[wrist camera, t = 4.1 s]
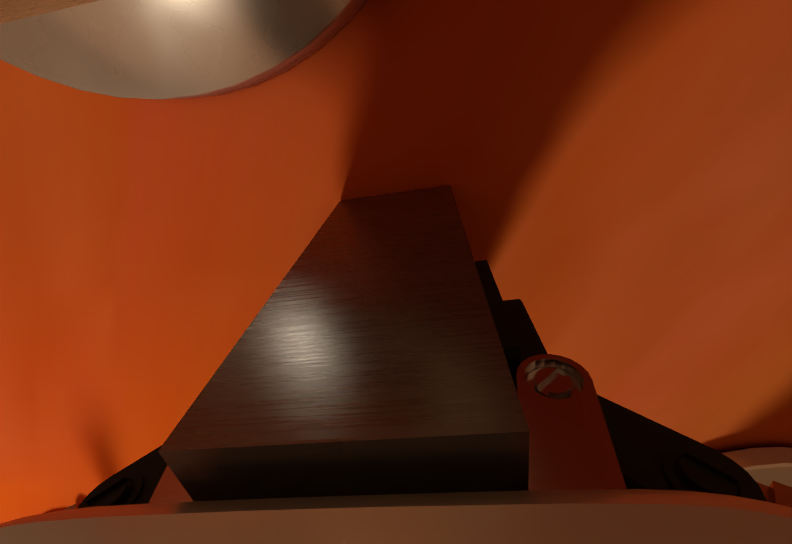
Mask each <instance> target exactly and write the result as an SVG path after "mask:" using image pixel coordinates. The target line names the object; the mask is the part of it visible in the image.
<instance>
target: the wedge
mask: <svg viewBox="0 0 792 544" xmlns="http://www.w3.org/2000/svg"><path fill="white" fill-rule="evenodd" d="M529 432H530V431H529V428H528V425H527V422H526V419H525V416H524V413H523V410H522V407H521V404H520V401H519V397H518V394H517V391H516V388H515V385H514V382H513V379H512V376H511V373H510V370H509V367H508V364H507V360H506V357H505V354H504V351H503V348H502V345H501V342H500V339H499V336H498V333H497V330H496V327H495V324H494V320H493V317H492V314H491V311H490V308H489V305H488V302H487V299H486V296H485V293H484V290H483V287H482V283H481V280H480V277H479V274H478V271H477V268H476V265H475V262H474V259H473V256H472V253H471V250H470V247H469V243H468V240H467V237H466V234H465V231H464V228H463V225H462V222H461V219H460V216H459V213H458V210H457V206H456V203H455V200H454V197H453V194H452V191H451V188H450V185H449V186H442V187H435V188H428V189H421V190H414V191H407V192H400V193H393V194H386V195H379V196H372V197H365V198H358V199H351V200H344V201H340V202H339V203H338V205H337V206H336V207H335V209H334V210H333V211H332V213H331V214H330V216H329V217H328V218H327V220H326V221H325V222H324V224H323V225H322V227H321V228H320V229H319V231H318V232H317V233H316V235H315V236H314V238H313V239H312V240H311V242H310V243H309V244H308V246H307V247H306V249H305V250H304V251H303V253H302V254H301V255H300V257H299V258H298V260H297V261H296V262H295V264H294V265H293V266H292V268H291V269H290V271H289V272H288V273H287V275H286V276H285V277H284V279H283V280H282V282H281V283H280V284H279V286H278V287H277V288H276V290H275V291H274V293H273V294H272V295H271V297H270V298H269V299H268V301H267V302H266V304H265V305H264V306H263V308H262V309H261V310H260V312H259V313H258V315H257V316H256V317H255V319H254V320H253V321H252V323H251V324H250V326H249V327H248V328H247V330H246V331H245V332H244V334H243V335H242V337H241V338H240V339H239V341H238V342H237V343H236V345H235V346H234V348H233V349H232V350H231V352H230V353H229V354H228V356H227V357H226V359H225V360H224V361H223V363H222V364H221V365H220V367H219V368H218V370H217V371H216V372H215V374H214V375H213V376H212V378H211V379H210V381H209V382H208V383H207V385H206V386H205V387H204V389H203V390H202V392H201V393H200V394H199V396H198V397H197V398H196V400H195V401H194V403H193V404H192V405H191V407H190V408H189V409H188V411H187V412H186V414H185V415H184V416H183V418H182V419H181V420H180V422H179V423H178V425H177V426H176V427H175V429H174V430H173V431H172V433H171V434H170V436H169V437H168V438H167V440H166V441H165V442H164V444H163V445H162V447H161V448H160V449H159V451H158V452H159V454H160V455H161V456H162V458H163V459H164V461H165V462H166V463H167V465H168V466H169V468H170V469H171V470H172V472H173V473H174V475H175V476H176V477H177V479H178V480H179V482H180V483H181V484H182V486H183V487H184V489H185V490H186V491H187V493H188V494H189V496H190V497H191V498H192V500H193V501H217V500H242V499H268V498H297V497H326V496H356V495H387V494H419V493H456V492H492V491H528V480H529Z"/></svg>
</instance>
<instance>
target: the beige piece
mask: <svg viewBox="0 0 792 544" xmlns="http://www.w3.org/2000/svg"><path fill="white" fill-rule="evenodd" d="M366 1H367V0H0V59H1V60H3V61H5V62H7V63H10V64H12V65H14V66H16V67H19V68H21V69H23V70H25V71H27V72H30V73H32V74H34V75H36V76H39V77H42V78H45V79H48V80H51V81H54V82H57V83H60V84H63V85H67V86H70V87H73V88H76V89H79V90H84V91H89V92H94V93H99V94H105V95H110V96H115V97H122V98H144V99H185V98H198V97H207V96H216V95H224V94H228V93H232V92H235V91H239V90H242V89H246V88H250V87H253V86H257V85H259V84H261V83H263V82H265V81H267V80H270V79H272V78H274V77H276V76H278V75H280V74H283V73H285V72H287V71H289V70H290V69H292V68H293V67H295V66H296V65H298V64H299V63H301V62H302V61H304V60H305V59H307V58H308V57H310V56H311V55H313V54H314V53H316V52H317V51H319V50H320V49H321V48H322V47H323V46H324V45H325V44H326V43H327V42H329V41H330V40H331V39H332V38H333V37H334V36H335V35H336V34H337V33H338V32H339V31H340V30H342V29H343V28H344V27H345V26H346V25H347V24H348V23H349V22H350V21H351V20H352V18H353V17H354V16H355V15H356V14H357V12H358V11H359V10H360V9H361V7H362V6H363V5H364V4H365V3H366Z"/></svg>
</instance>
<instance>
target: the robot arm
mask: <svg viewBox="0 0 792 544" xmlns="http://www.w3.org/2000/svg"><path fill="white" fill-rule="evenodd" d="M475 265H476V268H477V271H478V274H479V277H480V280H481V283H482V287H483V290H484V293H485V296H486V299H487V302H488V305H489V308H490V311H491V314H492V317H493V320H494V324H495V327H496V330H497V333H498V336H499V339H500V342H501V345H502V348H503V351H504V354H505V357H506V360H507V364H508V367H509V370H510V373H511V376H512V379H513V382H514V385H515V388H516V391H517V394H518V397H519V401H520V404H521V407H522V410H523V413H524V416H525V419H526V422H527V425H528V428H529V431H530V432H529V480H528V491H492V492H456V493H419V494H387V495H356V496H326V497H297V498H268V499H242V500H217V501H193V500H192V498H191V497H190V496H189V494H188V493H187V491H186V490H185V489H184V487H183V486H182V484H181V483H180V482H179V480H178V479H177V477H176V476H175V475H174V473H173V472H172V470H171V469H170V468H169V466H168V465H167V463H166V462H165V461H164V459H163V458H162V456H161V455H160V454H159V452H158V451H159V449H160V448H161V447H162V446H160V447H158V448H157V449H155V450H154V451H152V452H150V453H149V454H147V455H145V456H144V457H142V458H140V459H139V460H137V461H136V462H134V463H132V464H131V465H129V466H127V467H126V468H124V469H122V470H121V471H119V472H118V473H116V474H114V475H113V476H111V477H110V478H108V479H107V480H105V481H104V482H103V483H101V484H100V485H98V486H97V487H96V488H95V489H94V490H93V491H92V492H91V493H90V494H89V495H87V497H86V498H85V499H84V500H83V501H82V503H81V504H80V505H79V506H77V505H76V504H74V505H72V506H70V507H68V508H66V509H64V510H60V511H54V512H49V513H43V514H38V515H32V516H27V517H23V518H19V519H15V520H12V521H8V522H5V523H1V524H0V544H792V448H791V447H761V448H748V449H742V450H735V451H728V452H723V453H720V452H718V451H716V450H714V449H712V448H710V447H708V446H706V445H704V444H702V443H699V442H697V441H695V440H693V439H691V438H689V437H687V436H684V435H682V434H680V433H678V432H676V431H674V430H672V429H669V428H667V427H665V426H663V425H661V424H659V423H657V422H654V421H652V420H650V419H648V418H646V417H644V416H642V415H639V414H637V413H635V412H633V411H631V410H629V409H627V408H624V407H622V406H620V405H618V404H616V403H614V402H612V401H609V400H607V399H605V398H603V397H601V396H599V395H597V393H596V390H595V387H594V384H593V381H592V379H591V377H590V375H589V373H588V372H587V371H586V370H585V369H584V368H583V367H582V366H581V365H580V364H578V363H576V362H575V361H573V360H571V359H569V358H566V357H563V356H559V355H552V354H547V352H546V350H545V348H544V346H543V344H542V342H541V340H540V338H539V336H538V333H537V331H536V329H535V327H534V325H533V323H532V321H531V319H530V317H529V315H528V313H527V311H526V309H525V307H524V305H523V303H522V301H521V300H520V299H515V300H505V301H503V300H502V298H501V295H500V293H499V290H498V288H497V285H496V283H495V280H494V278H493V275H492V272H491V270H490V267H489V265H488V262H487V260H484V261H475Z"/></svg>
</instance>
